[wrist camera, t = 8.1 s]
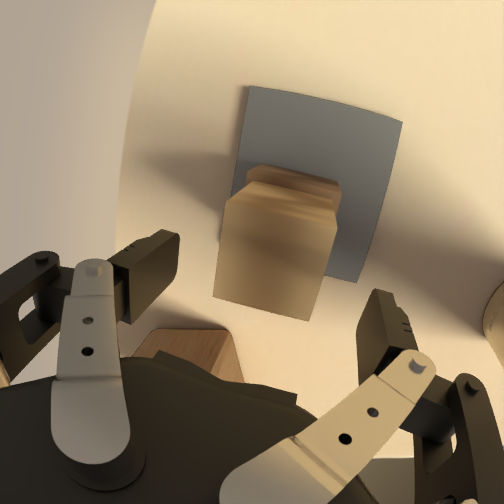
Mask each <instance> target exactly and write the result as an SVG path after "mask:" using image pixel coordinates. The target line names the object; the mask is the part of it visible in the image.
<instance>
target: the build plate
mask: <svg viewBox="0 0 504 504" xmlns="http://www.w3.org/2000/svg"><path fill="white" fill-rule="evenodd" d="M402 123H403V122H402V121H399V120H396V119H393V118H390V117H387V116H383V115H380V114H377V113H374V112H370V111H367V110H363V109H360V108H356V107H353V106H349V105H345V104H341V103H337V102H333V101H329V100H325V99H320V98H316V97H311V96H307V95H302V94H297V93H291V92H286V91H280V90H274V89H268V88H262V87H255V86H250V89H249V95H248V100H247V105H246V111H245V116H244V122H243V127H242V133H241V139H240V145H239V150H238V156H237V162H236V168H235V174H234V180H233V186H232V192H231V197H233V196H234V195H235V194H236V193H238V192H239V191H240V190H242V189H243V188H244V187H245V182H246V176H247V171H249V170H251V169H252V168H254V167H256V166H258V165H260V164H261V163H262V164H267V165H272V166H276V167H281V168H286V169H290V170H294V171H299V172H303V173H307V174H311V175H315V176H320V177H324V178H327V179H331V180H335V181H337V182H338V184H339V187H340V190H341V192H342V195H341V199H340V203H339V207H338V211H337V214H336V223H337V232H336V235H335V239H334V242H333V246H332V249H331V253H330V256H329V259H328V263H327V266H326V269H325V273H324V275H325V276H329V277H333V278H337V279H342V280H346V281H350V282H354V283H357V281H358V278H359V275H360V273H361V270H362V267H363V264H364V261H365V258H366V255H367V252H368V249H369V246H370V243H371V240H372V237H373V234H374V231H375V228H376V224H377V221H378V218H379V214H380V211H381V208H382V204H383V201H384V197H385V193H386V190H387V186H388V182H389V179H390V175H391V171H392V167H393V163H394V159H395V155H396V150H397V146H398V142H399V137H400V132H401V128H402Z"/></svg>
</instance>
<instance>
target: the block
mask: <svg viewBox="0 0 504 504" xmlns="http://www.w3.org/2000/svg"><path fill="white" fill-rule="evenodd" d="M158 350H162V351H164V352H167V353H169V354H172V355H174V356H177V357H180V358H182V359H185V360H188V361H190V362H192V363H194V364H196V365H197V366H199V367H201V368H202V369H204V370H206V371H207V372H209V373H211V374H212V375H214V376H216V377H218V378H219V379H221V380H224V381H231V382H239V383H245V382H244V379H243V375H242V371H241V368H240V364H239V360H238V357H237V353H236V349H235V345H234V341H233V338H232V335H231V333H230V332H229V331H226V330H195V329H160V328H159V329H156V330H153V331H151V332H150V334H149V335H148V336H147V338H146V339H145V340H144V341H143V343H142V344H141V345H140V346H139V348H138V349H137V350H136V352H135V353H134V354H133V355H132V357H149V358H153V357H154V356H155V354H156V353H157V352H158Z"/></svg>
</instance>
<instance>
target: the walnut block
mask: <svg viewBox="0 0 504 504" xmlns="http://www.w3.org/2000/svg"><path fill="white" fill-rule="evenodd" d="M252 181H258V182H262V183H267V184H272V185H276V186H281V187H285V188H290V189H294V190H298V191H302V192H307V193H311V194H315V195H319V196H323V197H327V198H331V199H332V201H333V207H334V212H335V217H336V214H337V211H338V207H339V203H340V199H341V195H342V192H341V190H340V187H339V184H338V182H337V181H335V180H331V179H327V178H324V177H320V176H315V175H311V174H307V173H303V172H299V171H294V170H290V169H286V168H281V167H276V166H272V165H267V164H262V163H261V164H260V165H258V166H256V167H254V168H252V169H251V170H249V171H247V176H246V182H245V187H246V186H247V185H248V184H250V183H251V182H252Z"/></svg>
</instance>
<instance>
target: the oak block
mask: <svg viewBox="0 0 504 504" xmlns="http://www.w3.org/2000/svg"><path fill="white" fill-rule="evenodd" d="M336 232H337V223H336V217H335V212H334V207H333V201H332V199H331V198H327V197H323V196H319V195H315V194H311V193H307V192H302V191H298V190H294V189H290V188H285V187H281V186H276V185H272V184H267V183H262V182H258V181H252V182H251V183H250V184H248V185H247V186H246V187H244V188H243V189H242V190H240V191H239V192H238V193H236V194H235V195H234V196H233V197H231V198H230V199H229V200H227V201H226V203H225V210H224V216H223V223H222V230H221V237H220V245H219V252H218V259H217V267H216V274H215V282H214V290H213V297H215V298H219V299H222V300H226V301H230V302H233V303H237V304H241V305H245V306H248V307H252V308H256V309H260V310H264V311H268V312H271V313H275V314H279V315H283V316H288V317H292V318H296V319H300V320H304V321H308V322H309V319H310V316H311V313H312V310H313V307H314V304H315V301H316V298H317V295H318V292H319V289H320V286H321V282H322V279H323V276H324V273H325V269H326V266H327V263H328V259H329V256H330V253H331V249H332V246H333V242H334V239H335V235H336Z"/></svg>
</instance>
